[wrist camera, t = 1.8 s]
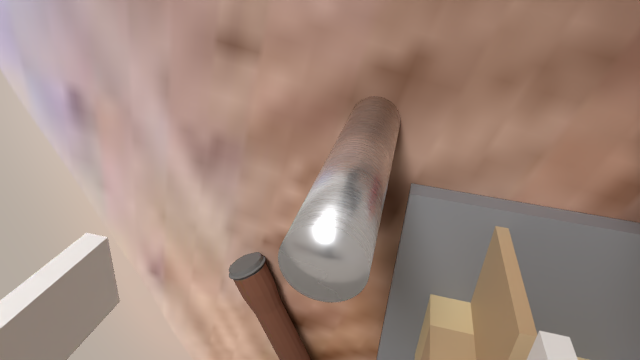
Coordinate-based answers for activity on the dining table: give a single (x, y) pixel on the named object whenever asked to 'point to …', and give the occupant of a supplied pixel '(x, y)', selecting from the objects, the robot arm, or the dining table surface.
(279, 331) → the mallet
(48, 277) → the robot arm
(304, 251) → the hinge pin
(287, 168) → the dining table surface
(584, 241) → the stand
